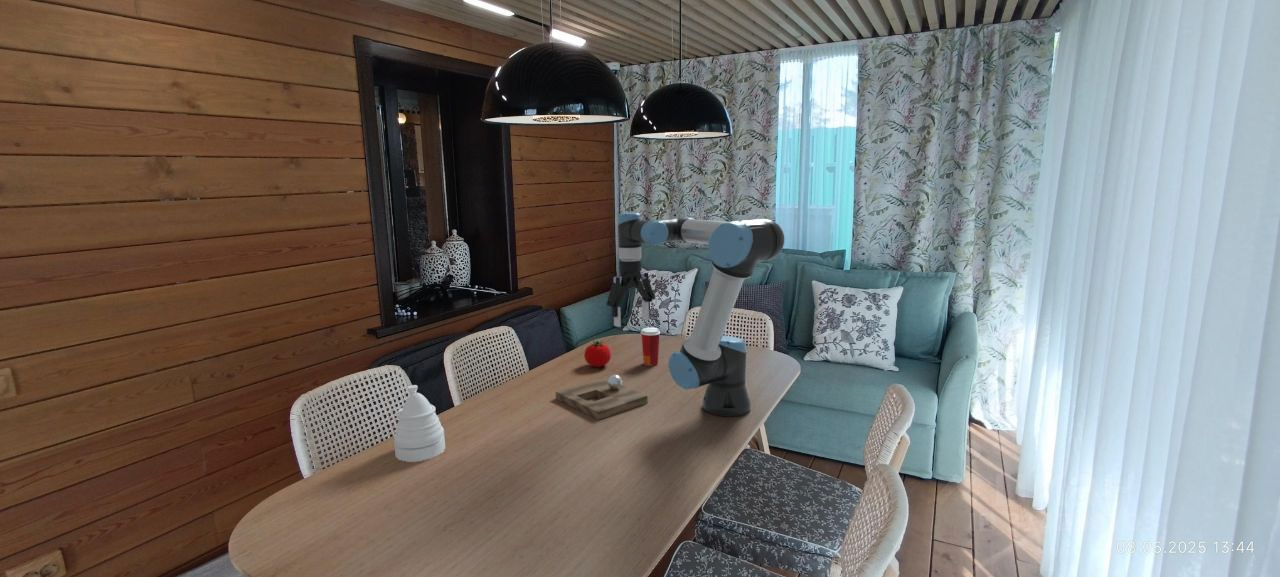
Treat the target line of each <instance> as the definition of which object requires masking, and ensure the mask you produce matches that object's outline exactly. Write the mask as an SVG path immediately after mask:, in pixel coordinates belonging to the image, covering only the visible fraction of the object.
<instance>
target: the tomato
mask: <svg viewBox="0 0 1280 577" xmlns="http://www.w3.org/2000/svg"><path fill="white" fill-rule="evenodd" d="M611 352H612V351H611V349H610V347H609V346H608V345H606V344H605V343H603V340H601V341H595V340H592V343H590V345H588V346H586V348H585V351H584V356H583V357H584V361H585V362H586V364H588V365H590V366H592V367H595V368H601V367H604V366H606V365H607V364H608V363H609V362H610V360H611V358H612V353H611Z"/></svg>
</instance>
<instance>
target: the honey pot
mask: <svg viewBox="0 0 1280 577" xmlns="http://www.w3.org/2000/svg"><path fill="white" fill-rule="evenodd" d="M417 391H418V385H417V384H414V385H413V384H411V385H408V386H407V392H409V393H410V394H411V395H409V396H408V398H407V399H406V400H405V403H404V405H403V406H402V407H401V408H400V409H398V410H397V411H396V414H395V415H396V417H397V418H398V422H397V423H396V429H395V434H394V436H393V441H394V442H393V444H394V452H395V453H394V454H395V458H396V459H397V458H398V459H397V460H399V461H401V460H402V461H401V462H404V461H406V462H405V463H416V462H424V461H427V459H428V460H431V459H433V457H434V458H435V456H436V457H438V456H439V454H440V453H441V454H443V452H444V451H445V450H446V442H445V440H446V439H445V438H446V437H445V429H444V427H443V426H442V422H441V421H440V418H439V416H438V415H437V413H436V406H434V405H433V404H431V403H430V402H429V400H428V398H426V397H425V396H424V395H423V394H422V393H420V392H417ZM444 449H445V450H444ZM441 454H440V455H441ZM437 455H438V456H437ZM423 460H424V461H423Z"/></svg>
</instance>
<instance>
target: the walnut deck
mask: <svg viewBox="0 0 1280 577" xmlns="http://www.w3.org/2000/svg"><path fill="white" fill-rule="evenodd" d="M607 381H608V379H607V378H605V377H601V378H598V379H594V380H591V381H587V382H584V383H579V384H576V385H574V386H569V387H567V388H564V389H559V390H556V391H555V399H556V400H558V401H560V402H562V403H564V404H566V405H568V406H570V407H572V408H574V409H576V410H578V411H580V412H582V413H584V414H586V415H588V416H589V417H592V418H593V419H596V420H597V421H599V420H602V419H605V418H608V417H610V416H611V417H612V416H614V415H617V414H619V413H622V412H625V411H628V410H631V409H635V408H637V407H641V406H643V405H646V404H648V395H647V394H644V393H642V392H640V391H639V392H638V391H637V390H635V389H632V388H630V387H628V386H624V385H623V384H622V385H621V387H620V388H619V389H616V390H613V389H611V388H610V387H609V386H608V383H607ZM593 398H598V399H597V400H594V401H589V400H591V399H593Z"/></svg>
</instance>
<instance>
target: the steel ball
mask: <svg viewBox="0 0 1280 577" xmlns="http://www.w3.org/2000/svg"><path fill="white" fill-rule="evenodd" d="M607 380H608V381H607V383H608V386H609V387H610V388H611V389H613V390H616V389H619V388H620V387H621V385H622V386H623V379H622V378H621V376H620V375H619V374H612V375H609V377H608V379H607Z"/></svg>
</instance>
